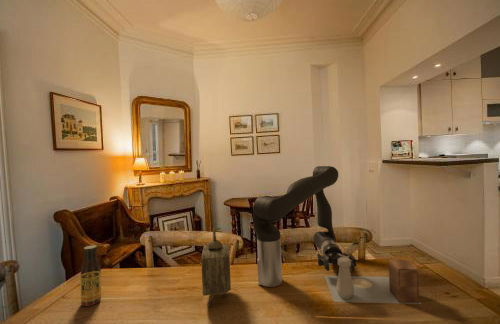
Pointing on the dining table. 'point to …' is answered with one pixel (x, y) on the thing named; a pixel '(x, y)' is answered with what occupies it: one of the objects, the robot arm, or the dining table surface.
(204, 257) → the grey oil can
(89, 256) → the sauce bottle
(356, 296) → the board
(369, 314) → the dining table surface
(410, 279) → the block
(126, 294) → the dining table surface
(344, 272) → the salt shaker
